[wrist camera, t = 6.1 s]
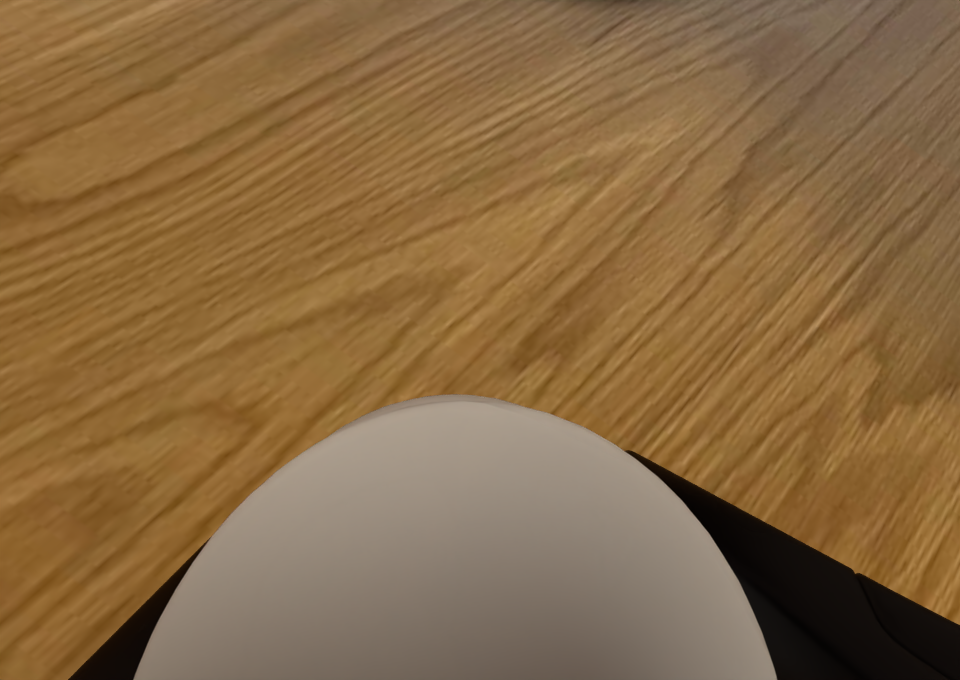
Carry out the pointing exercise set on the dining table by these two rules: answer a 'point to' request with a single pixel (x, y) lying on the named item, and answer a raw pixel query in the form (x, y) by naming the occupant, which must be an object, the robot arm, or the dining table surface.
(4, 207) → the dining table surface
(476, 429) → the pill bottle
